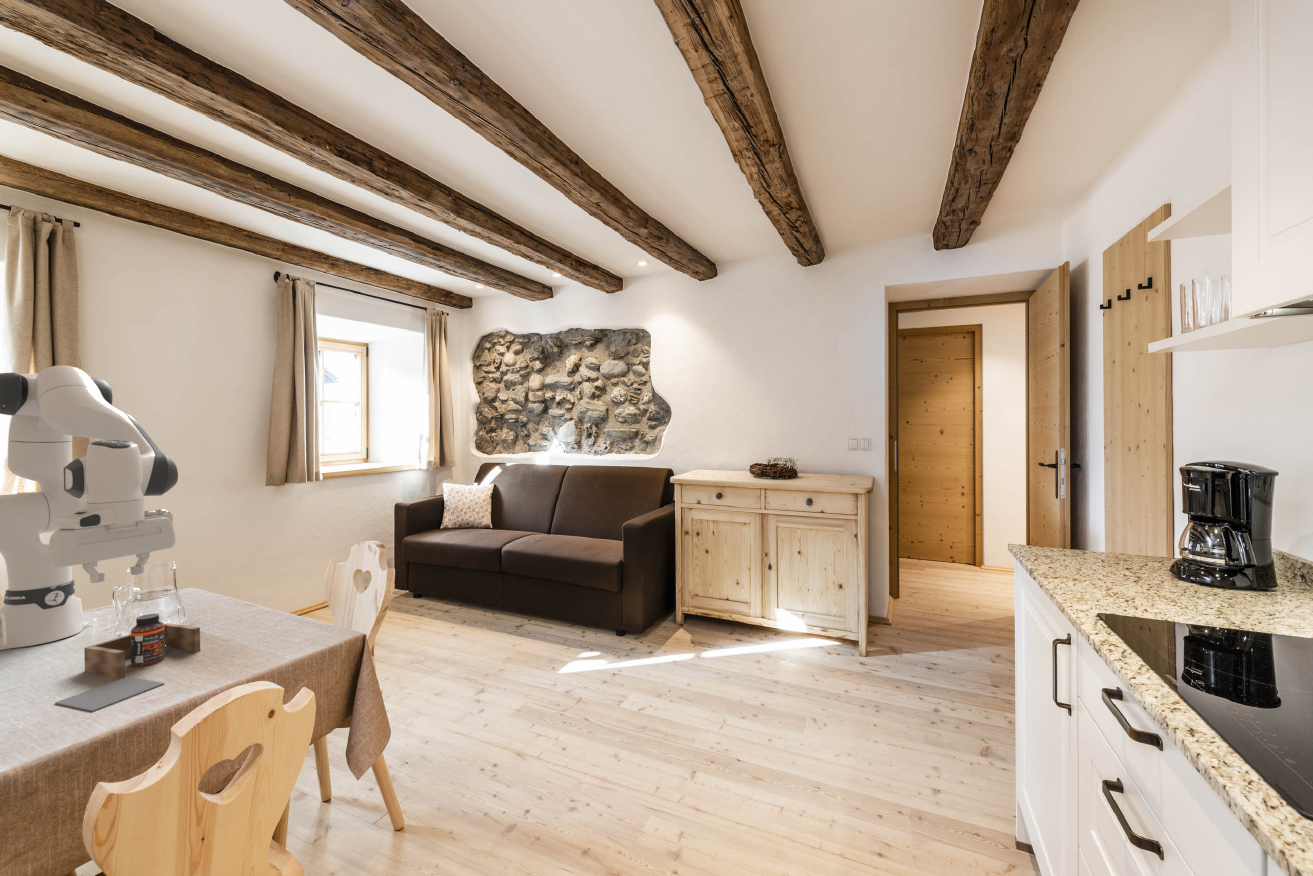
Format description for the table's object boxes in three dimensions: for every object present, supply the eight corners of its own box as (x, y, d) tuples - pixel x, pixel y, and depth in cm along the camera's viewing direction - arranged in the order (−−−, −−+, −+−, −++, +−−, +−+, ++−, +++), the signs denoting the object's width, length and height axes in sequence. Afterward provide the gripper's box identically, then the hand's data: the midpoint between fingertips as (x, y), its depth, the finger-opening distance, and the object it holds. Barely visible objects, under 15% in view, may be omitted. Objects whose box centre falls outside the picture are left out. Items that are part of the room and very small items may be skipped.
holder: (84, 673, 122) (84, 647, 122) (168, 646, 137) (167, 623, 137) (118, 679, 118) (118, 653, 118) (200, 650, 134) (199, 627, 134)
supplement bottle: (142, 669, 124) (141, 621, 124) (124, 666, 125) (123, 619, 125) (171, 658, 130) (170, 612, 129) (153, 656, 131) (152, 611, 131)
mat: (55, 704, 108) (55, 702, 108) (128, 677, 119) (128, 676, 119) (92, 712, 104) (92, 710, 104) (164, 684, 116) (164, 683, 116)
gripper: (162, 508, 125) (164, 566, 125) (41, 521, 105) (43, 590, 105) (181, 508, 123) (183, 567, 123) (61, 522, 103) (63, 592, 103)
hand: (117, 578), depth 114 cm, fingers open, 5 cm apart
